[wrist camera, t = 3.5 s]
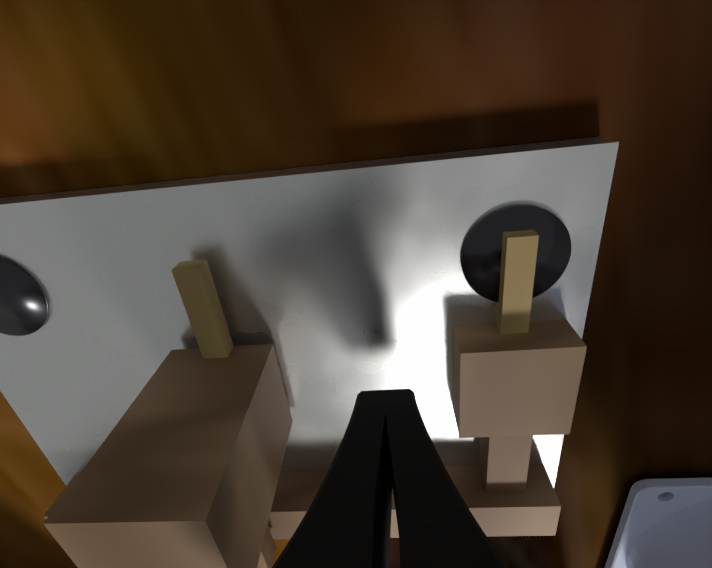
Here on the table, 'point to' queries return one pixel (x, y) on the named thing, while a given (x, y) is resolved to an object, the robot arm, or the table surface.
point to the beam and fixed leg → (489, 411)
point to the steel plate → (291, 284)
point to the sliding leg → (186, 456)
